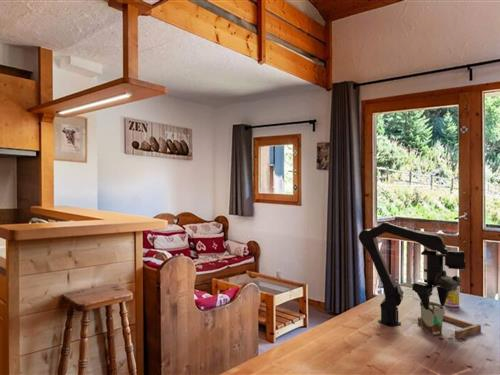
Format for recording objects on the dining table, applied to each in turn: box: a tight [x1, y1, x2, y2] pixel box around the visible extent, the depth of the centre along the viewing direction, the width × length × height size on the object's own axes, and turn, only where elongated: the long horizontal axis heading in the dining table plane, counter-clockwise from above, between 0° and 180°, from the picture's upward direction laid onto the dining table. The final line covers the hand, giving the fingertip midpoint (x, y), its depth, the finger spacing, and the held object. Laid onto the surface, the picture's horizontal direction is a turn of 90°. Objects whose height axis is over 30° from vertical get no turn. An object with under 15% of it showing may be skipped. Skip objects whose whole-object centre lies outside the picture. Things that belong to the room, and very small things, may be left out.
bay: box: [417, 314, 482, 339], centre depth 146 cm, size 14×17×2 cm
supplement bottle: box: [444, 276, 460, 308], centre depth 173 cm, size 7×7×13 cm
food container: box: [419, 300, 446, 337], centre depth 142 cm, size 12×6×10 cm, turn 179°
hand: (434, 307), depth 142 cm, fingers open, 9 cm apart
